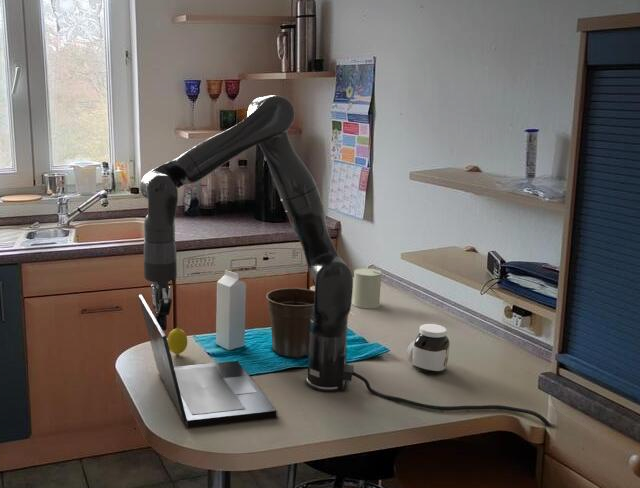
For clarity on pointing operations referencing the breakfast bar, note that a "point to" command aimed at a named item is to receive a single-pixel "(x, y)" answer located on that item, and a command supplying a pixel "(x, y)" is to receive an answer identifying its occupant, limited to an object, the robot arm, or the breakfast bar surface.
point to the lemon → (177, 341)
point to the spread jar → (430, 349)
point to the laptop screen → (162, 356)
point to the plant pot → (290, 320)
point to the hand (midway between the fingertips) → (161, 329)
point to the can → (366, 288)
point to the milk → (230, 311)
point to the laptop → (220, 395)
